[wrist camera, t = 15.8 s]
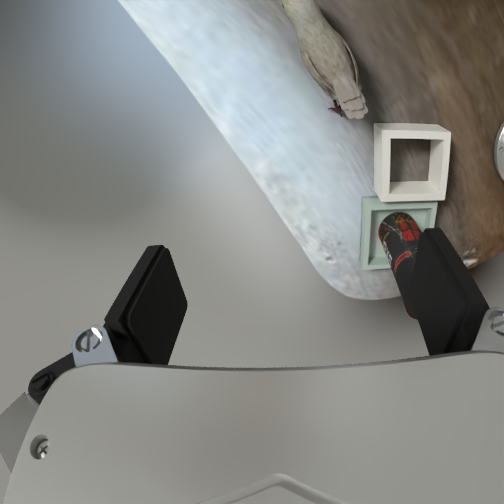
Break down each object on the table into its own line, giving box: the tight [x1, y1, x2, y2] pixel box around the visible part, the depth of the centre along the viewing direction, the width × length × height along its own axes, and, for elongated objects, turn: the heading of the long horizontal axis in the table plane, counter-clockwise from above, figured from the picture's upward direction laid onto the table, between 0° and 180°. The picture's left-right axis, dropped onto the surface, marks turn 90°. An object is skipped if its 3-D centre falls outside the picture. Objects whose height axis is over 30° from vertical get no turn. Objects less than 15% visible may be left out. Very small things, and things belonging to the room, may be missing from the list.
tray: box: [360, 196, 438, 270], centre depth 42 cm, size 11×11×2 cm
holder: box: [374, 123, 451, 202], centre depth 35 cm, size 9×9×4 cm
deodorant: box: [378, 212, 421, 320], centre depth 36 cm, size 6×6×15 cm
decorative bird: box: [283, 0, 368, 119], centre depth 28 cm, size 5×16×8 cm, turn 28°
